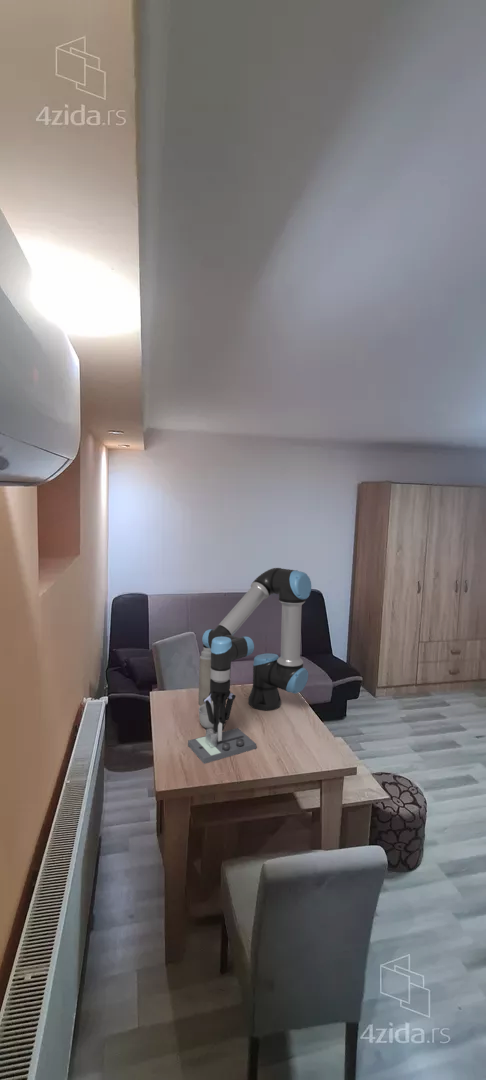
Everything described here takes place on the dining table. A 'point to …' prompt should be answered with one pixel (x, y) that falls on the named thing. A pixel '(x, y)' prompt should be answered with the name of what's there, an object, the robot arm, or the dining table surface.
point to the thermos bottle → (204, 674)
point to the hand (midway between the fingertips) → (218, 739)
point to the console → (222, 746)
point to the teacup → (205, 716)
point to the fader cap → (211, 738)
